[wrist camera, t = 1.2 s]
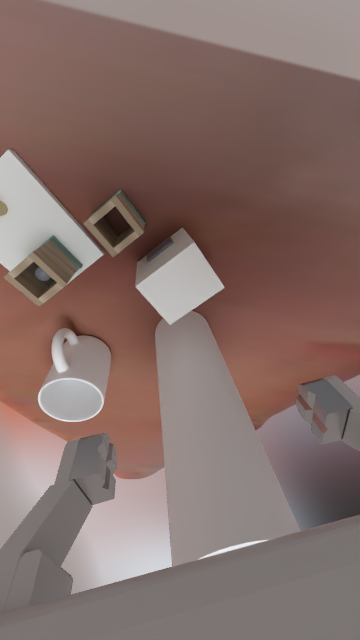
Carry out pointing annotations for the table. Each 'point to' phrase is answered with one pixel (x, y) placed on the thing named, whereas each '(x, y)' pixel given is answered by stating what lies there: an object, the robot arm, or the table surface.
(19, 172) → the pin board
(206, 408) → the cylinder container
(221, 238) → the table surface
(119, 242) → the sleeve
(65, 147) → the table surface
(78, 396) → the mug
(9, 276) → the sleeve seated
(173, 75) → the table surface
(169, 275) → the white box
